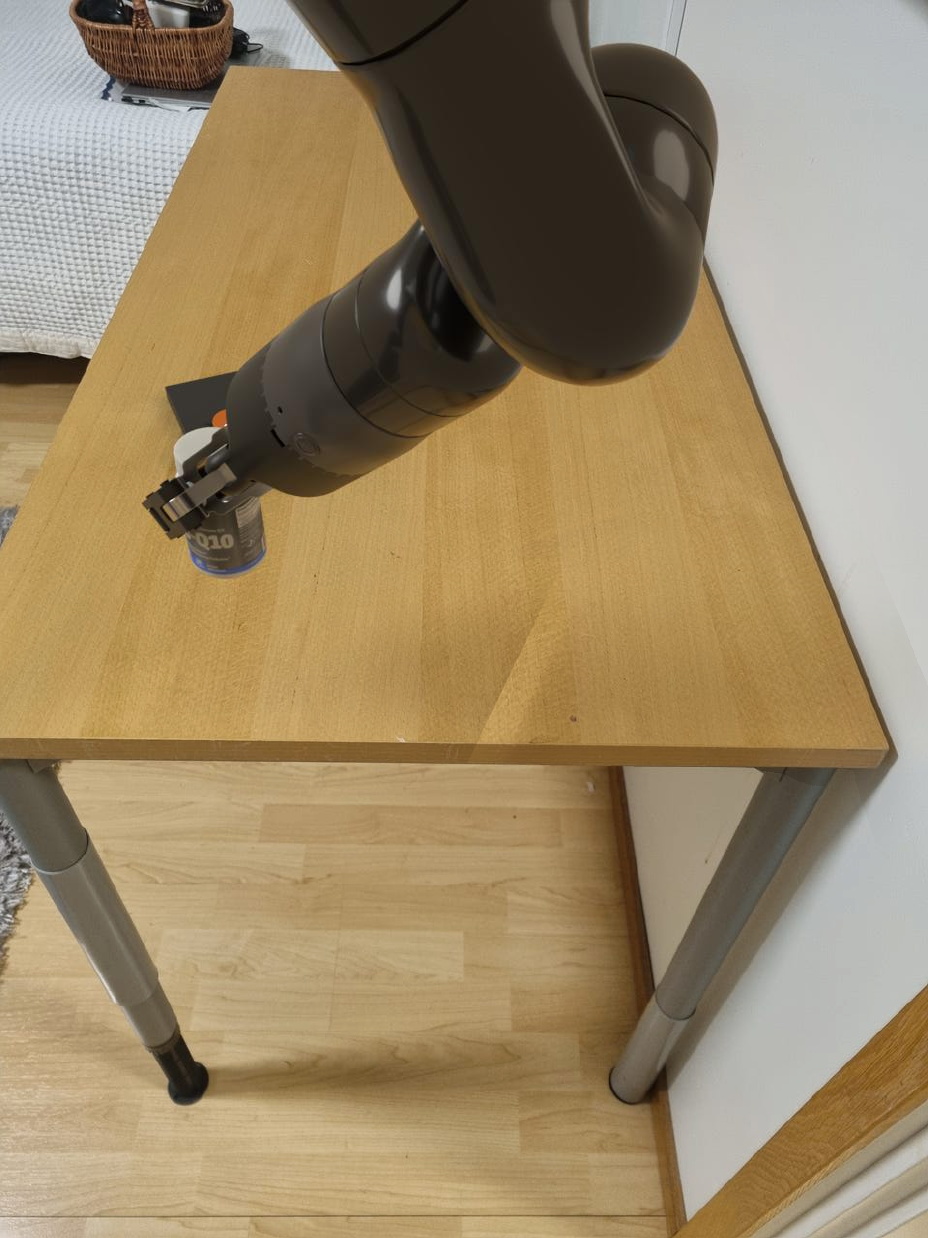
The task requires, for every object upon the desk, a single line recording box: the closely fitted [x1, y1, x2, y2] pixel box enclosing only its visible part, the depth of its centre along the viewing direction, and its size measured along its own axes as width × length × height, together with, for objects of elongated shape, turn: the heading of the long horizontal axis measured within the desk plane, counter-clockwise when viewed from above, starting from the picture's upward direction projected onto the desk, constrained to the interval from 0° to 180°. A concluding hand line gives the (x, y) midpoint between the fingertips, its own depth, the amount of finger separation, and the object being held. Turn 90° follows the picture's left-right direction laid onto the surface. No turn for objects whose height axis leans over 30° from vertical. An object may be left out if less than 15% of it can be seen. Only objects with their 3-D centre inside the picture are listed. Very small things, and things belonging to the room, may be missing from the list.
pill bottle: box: [173, 427, 268, 580], centre depth 55 cm, size 5×5×8 cm
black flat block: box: [164, 370, 238, 436], centre depth 83 cm, size 16×14×3 cm
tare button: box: [212, 410, 227, 428], centre depth 78 cm, size 3×3×2 cm
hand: (197, 492), depth 56 cm, fingers closed on pill bottle, 4 cm apart
